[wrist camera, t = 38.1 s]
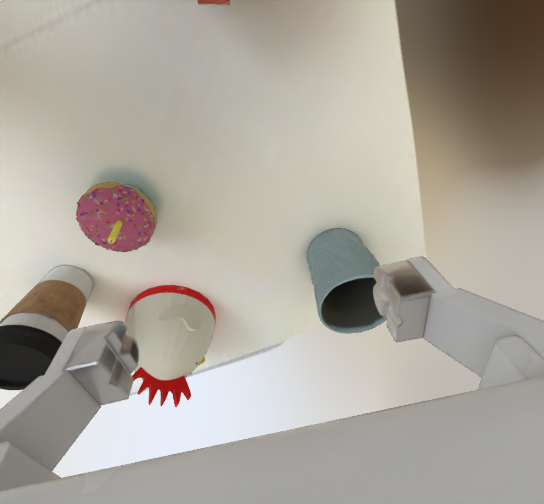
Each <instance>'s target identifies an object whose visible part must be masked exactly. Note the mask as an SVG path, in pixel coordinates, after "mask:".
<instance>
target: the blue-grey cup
mask: <svg viewBox="0 0 544 504" xmlns="http://www.w3.org/2000/svg"><path fill="white" fill-rule="evenodd" d="M307 259H308V264H309V269H310V272H311V278H312V283H313V285H314V286H315V287H314V290H315V297H316V303H317V308H318V314H319V318H320V320H321V321H322V323H323V324H324V325H325V326H326V327H327V328H329V329H330V330H333V331H335V332H339V333H347V334H348V333H359V332H363V331H367V330H370V329H372V328H375V327H377V326H378V325H380V324H382V323H383V322H384V321H386V320H387V318H385V317H383V316H381V315H380V313H379V311H378V310H377V307H376V305H375V301H374V296H373V287H374V286H375V284H376V283H377V282H376V280H375V279H374V277H373V275H374V268H375V267H377V266H380V265H379V263H378V262H377V260H376V259H375V258H374V257H373V255H372V254H371V253H370V252H369V250H368V249H367V248H366V247H365V246H364V245H363V243H362V241H361V240H360V239H359V238H358V236H357V235H356V234H354V233H353V232H351V231H349V230H346V229H340V228H338V229H331V230H328V231H325V232H323V233H321V234H320V235H319V236H317V237H316V238H315V239H314V240H313V242H312V243H311V245H310V246H309V249H308V253H307Z"/></svg>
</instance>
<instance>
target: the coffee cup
mask: <svg viewBox="0 0 544 504" xmlns="http://www.w3.org/2000/svg"><path fill="white" fill-rule="evenodd" d="M92 288H93V282H92V279H91V277H90V276H89V275H88V274H87V273H86V272H85V271H83V270H81V269H79V268H77V267H74V266H67V265H64V266H58V267H55V268H53V269H52V270H51V271H50V272H49V273H48V274H47V275H46V276H45V277H44V278H43V279H42V280H41V281H40V282H39V283H38V284H37V285H36V286H35V287H34V288H33V289H32V290H31V291H30V292H29V293H28V294H27V295H26V296H25V297H24V298H23V299H22V300H21V301H20V302H19V303H18V304H17V305H16V306H15V307H14V308H13V309H12V310H11V311H10V312H9V313H8V314H7V315H6V316H5V317H4V318H3V319H2V320H1V321H0V388H1V389H5V390H22V389H25V388H26V387H27V386H28V385H30V384H31V383H32V382H33V381H34V380H35V379H37V378H38V377H39V376H43V375H45V373H46V371H47V369H48V368H49V366H50V364H51V362H52V360H53V359H54V357H55V355H56V353H57V351H58V350H59V348H60V346H61V344H62V342H63V341H64V339H65V337H66V335H67V333H68V332H70V331H71V330H73V329H77V327H78V325H79V322H80V319H81V317H82V314H83V311H84V309H85V306H86V303H87V300H88V298H89V295H90V293H91V291H92Z"/></svg>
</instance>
